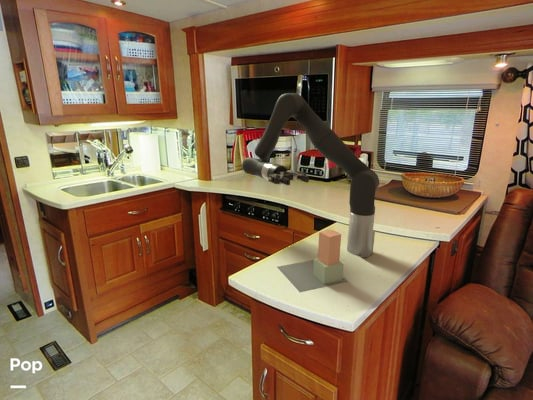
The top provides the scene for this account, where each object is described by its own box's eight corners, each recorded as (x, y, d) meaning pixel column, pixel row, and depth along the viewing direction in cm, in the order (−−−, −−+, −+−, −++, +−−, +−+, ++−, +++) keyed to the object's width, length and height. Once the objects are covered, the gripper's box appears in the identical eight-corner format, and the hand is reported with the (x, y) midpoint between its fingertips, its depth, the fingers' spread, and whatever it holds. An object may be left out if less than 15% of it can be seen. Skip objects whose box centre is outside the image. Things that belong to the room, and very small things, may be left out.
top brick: (328, 256, 117) (330, 229, 114) (339, 262, 113) (341, 234, 110) (317, 259, 115) (319, 232, 112) (327, 265, 111) (329, 237, 108)
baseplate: (320, 261, 129) (320, 258, 129) (348, 284, 113) (348, 281, 113) (276, 269, 123) (276, 266, 123) (299, 294, 107) (299, 292, 107)
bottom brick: (330, 270, 120) (331, 255, 118) (342, 280, 114) (343, 263, 112) (313, 274, 118) (314, 258, 116) (323, 284, 111) (324, 267, 110)
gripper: (259, 165, 133) (283, 173, 120) (289, 162, 140) (314, 169, 127) (259, 184, 135) (282, 193, 122) (288, 180, 143) (313, 188, 129)
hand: (298, 181), depth 125 cm, fingers open, 8 cm apart
